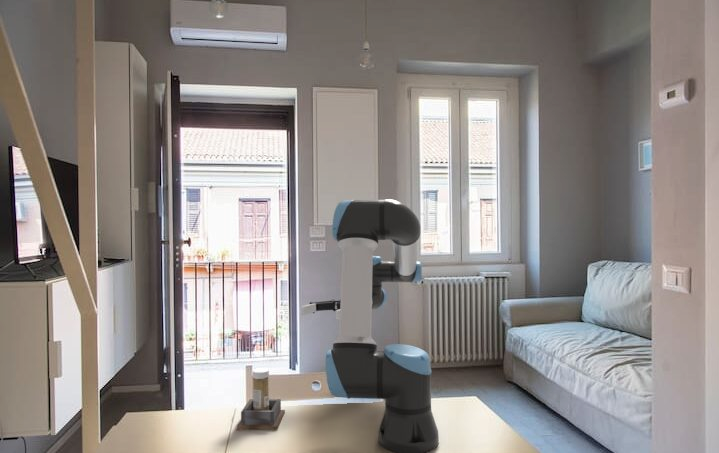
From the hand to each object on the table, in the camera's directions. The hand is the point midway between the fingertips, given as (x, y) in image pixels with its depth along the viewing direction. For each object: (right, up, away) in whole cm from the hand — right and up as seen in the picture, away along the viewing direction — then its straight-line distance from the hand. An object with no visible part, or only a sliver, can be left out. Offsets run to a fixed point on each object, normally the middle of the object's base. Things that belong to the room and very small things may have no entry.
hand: (318, 312), depth 138 cm
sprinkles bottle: (-15, -27, -12) cm, 34 cm away
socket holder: (-15, -28, -12) cm, 34 cm away
